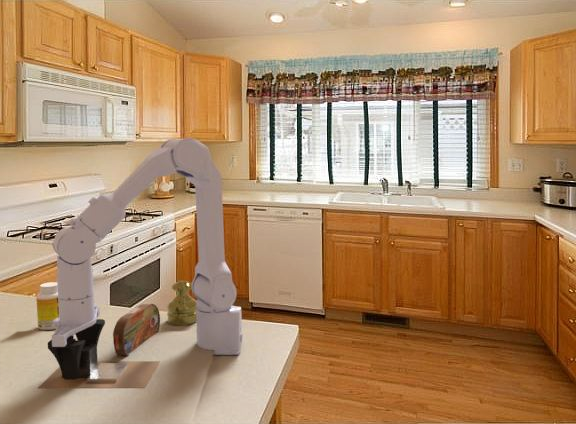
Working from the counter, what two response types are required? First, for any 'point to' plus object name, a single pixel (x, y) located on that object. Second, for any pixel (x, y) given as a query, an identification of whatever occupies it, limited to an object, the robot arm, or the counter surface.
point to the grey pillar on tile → (98, 367)
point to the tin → (135, 328)
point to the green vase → (182, 305)
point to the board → (131, 378)
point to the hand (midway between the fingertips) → (80, 369)
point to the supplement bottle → (47, 306)
